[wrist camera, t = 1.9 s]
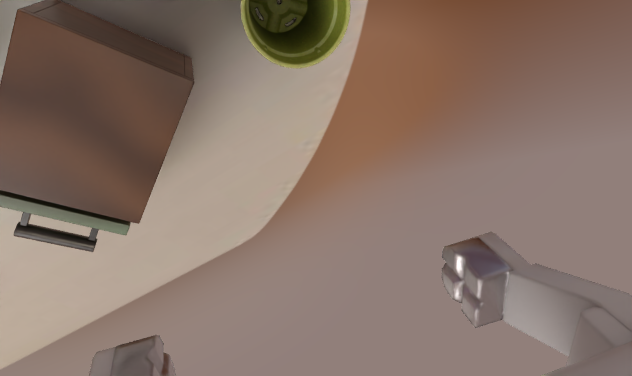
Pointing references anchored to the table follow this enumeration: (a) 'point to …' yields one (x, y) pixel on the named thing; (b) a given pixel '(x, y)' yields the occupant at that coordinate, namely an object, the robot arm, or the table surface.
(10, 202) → the drawer
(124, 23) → the table surface
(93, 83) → the cabinet
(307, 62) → the plant pot
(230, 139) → the table surface
